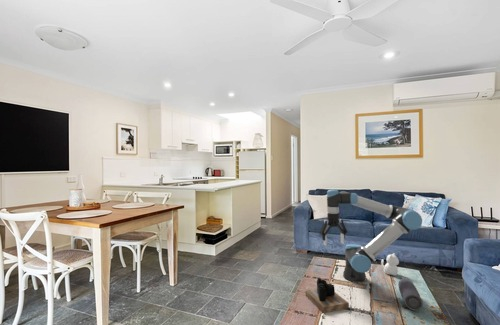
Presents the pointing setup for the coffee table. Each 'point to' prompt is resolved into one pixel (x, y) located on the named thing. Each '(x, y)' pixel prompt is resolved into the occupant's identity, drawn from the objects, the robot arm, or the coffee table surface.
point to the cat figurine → (391, 265)
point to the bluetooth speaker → (410, 294)
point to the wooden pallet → (327, 301)
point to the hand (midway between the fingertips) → (333, 244)
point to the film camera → (324, 289)
